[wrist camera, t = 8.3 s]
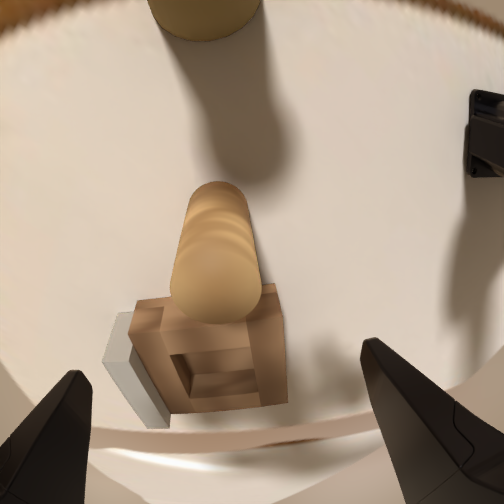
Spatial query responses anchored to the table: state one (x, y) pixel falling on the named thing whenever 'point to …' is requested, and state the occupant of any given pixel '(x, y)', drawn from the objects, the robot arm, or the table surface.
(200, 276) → the dowel
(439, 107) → the table surface
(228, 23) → the cork
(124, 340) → the wall
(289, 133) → the table surface
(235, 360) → the socket block
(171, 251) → the table surface
